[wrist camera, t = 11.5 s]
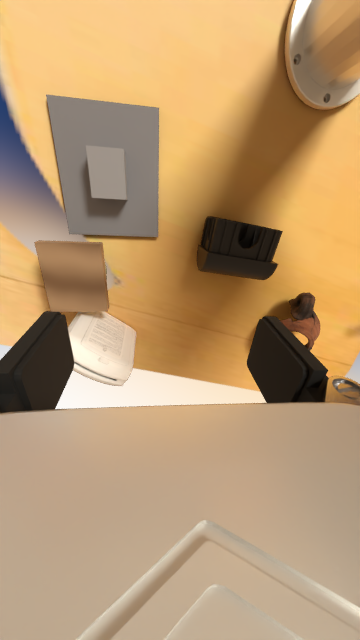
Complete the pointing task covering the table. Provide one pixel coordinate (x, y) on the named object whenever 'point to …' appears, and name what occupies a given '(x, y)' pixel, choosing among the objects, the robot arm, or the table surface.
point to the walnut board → (74, 275)
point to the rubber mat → (111, 135)
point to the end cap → (237, 249)
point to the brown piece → (304, 318)
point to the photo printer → (102, 347)
